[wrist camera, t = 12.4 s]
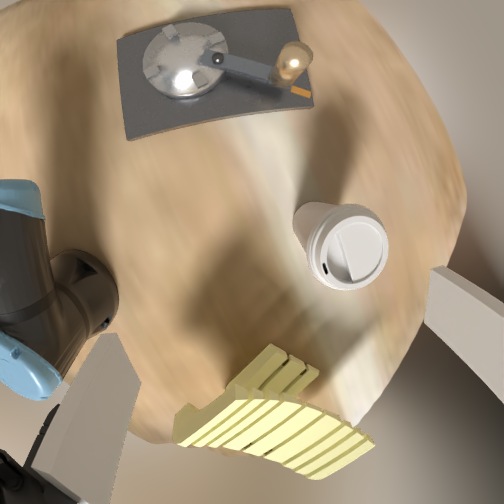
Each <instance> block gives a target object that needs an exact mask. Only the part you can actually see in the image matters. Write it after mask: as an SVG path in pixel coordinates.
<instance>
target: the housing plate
mask: <svg viewBox="0 0 504 504" xmlns="http://www.w3.org/2000/svg"><path fill="white" fill-rule="evenodd" d="M188 22H195V23H202V24H206V25H208V26H211V27H213V28H214V29H216V30H217V31H218V32H221V33H222V35H223V36H224V38H225V41H226V43H227V46H228V54H229V55H234V56H237V57H241V58H245V59H249V60H252V61H256V62H259V63H262V64H266V65H269V66H272V67H273V66H274V64H275V62H276V60H277V58H278V56H279V55H280V53H281V51H282V49H283V47H284V46H285V44H287V43H289V42H292V41H299V37H298V33H297V29H296V26H295V22H294V19H293V15H292V12H291V9H265V10H249V11H239V12H230V13H222V14H215V15H209V16H203V17H197V18H192V19H187V20H183V21H178V22H174V23H170V24H172V25H173V26H174V25H177V24H181V23H188ZM170 24H166V25H162V26H159V27H155V28H152V29H148V30H145V31H142V32H138V33H135V34H132V35H129V36H127V37H124V38H121V39H118V40H117V57H118V71H119V83H120V93H121V102H122V110H123V118H124V125H125V132H126V138H127V140H128V141H134V140H138V139H141V138H144V137H148V136H151V135H155V134H159V133H163V132H167V131H170V130H175V129H179V128H183V127H187V126H192V125H196V124H201V123H206V122H211V121H216V120H222V119H227V118H233V117H240V116H246V115H253V114H260V113H268V112H277V111H287V110H298V109H310V108H312V107H313V106H314V103H313V98H312V93H311V88H310V83H309V79H308V74H307V70H306V69H305V70H304V71H303V72H302V73H301V74H300V76H299V77H298V78H297V79H296V80H295V81H294V82H293V85H292V88H291V89H290V90H287V89H284V88H279V87H277V86H275V85H272V84H269V83H266V82H263V81H259V80H256V79H253V78H249V77H246V76H242V75H238V74H235V73H231V72H227V71H226V73H225V75H224V77H223V78H222V80H221V81H220V82H219V83H218V84H217V85H216V86H215V87H214V88H213V89H211V90H210V91H208V92H207V93H205V94H203V95H200V96H197V97H194V98H188V99H177V98H172V97H168V96H166V95H164V94H162V93H161V92H159V91H158V90H157V89H156V88H155V87H154V86H153V85H152V84H151V83H150V82H149V81H148V79H147V78H146V76H145V74H144V72H143V71H144V70H143V57H144V53H145V50H146V48H147V47H148V45H149V44H150V42H151V41H152V40H153V39H154V38H155V37H156V36H157V35H158V34H159V33H161V32H162V31H163V30H162V28H164V27H166V26H168V25H170ZM299 42H300V41H299Z"/></svg>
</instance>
